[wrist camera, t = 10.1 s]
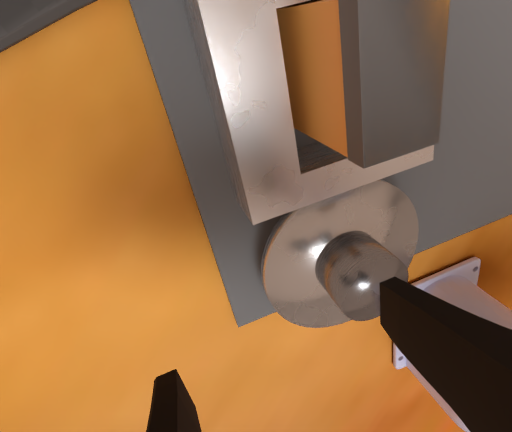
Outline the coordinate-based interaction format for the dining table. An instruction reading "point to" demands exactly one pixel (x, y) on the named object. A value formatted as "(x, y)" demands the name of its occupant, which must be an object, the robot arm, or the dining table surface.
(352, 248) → the scaffold node
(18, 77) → the dining table surface
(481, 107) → the site mat
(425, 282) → the robot arm
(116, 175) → the dining table surface
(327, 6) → the orange grey two-tone block
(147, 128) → the dining table surface
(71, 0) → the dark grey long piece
